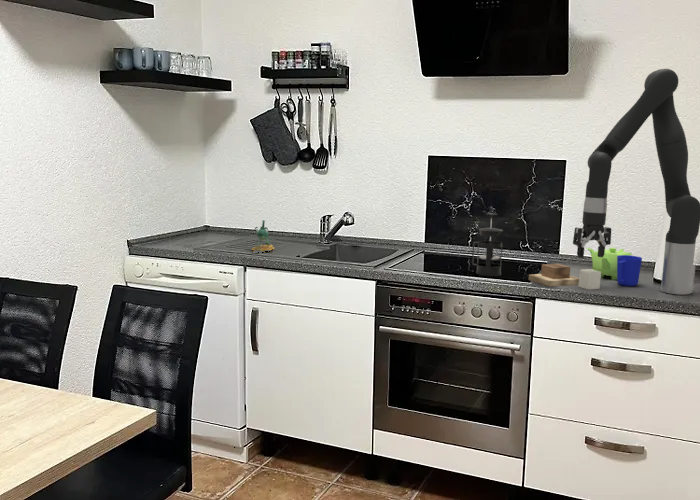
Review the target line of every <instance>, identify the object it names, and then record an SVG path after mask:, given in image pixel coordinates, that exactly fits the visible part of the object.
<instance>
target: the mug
mask: <svg viewBox="0 0 700 500" xmlns="http://www.w3.org/2000/svg"><path fill="white" fill-rule="evenodd" d="M642 261H643V258H642V257H641V256H636V255H631V256H629V255H620V256H617V280H616V281H617V283H618V284H619V285H622V286H624V287H634V286H637V285H638V283H639V278H640V275H641V268H642Z"/></svg>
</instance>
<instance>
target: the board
mask: <svg viewBox="0 0 700 500" xmlns="http://www.w3.org/2000/svg"><path fill="white" fill-rule="evenodd" d="M528 281H530V282H533V283H536V284H540V285H542V286H546V287H548V288H549V287H563V286H565V287H566V286H579V276H578V277H577V276H574V275H571V274H570V278H562V279H551V278H548V277H545V276H542V275H541V273H535V274H533V273H532V274H528Z"/></svg>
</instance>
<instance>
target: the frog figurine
mask: <svg viewBox="0 0 700 500" xmlns="http://www.w3.org/2000/svg"><path fill="white" fill-rule="evenodd" d="M261 223H262V224H261V226H260V228H259V227H258V226H256V227H254V230H255V232H256V236H257V240H256V243H257V246H254V247H252V248H251V250H261V251H265V250H272V249H273V250H275V247H274V245H273V244H271V241H270V240H271V239H269V238H270V237H269V228H268V227H265V225H266V224H265V220H262V222H261ZM262 241H264V243H265V244H264V245H263V244H262Z"/></svg>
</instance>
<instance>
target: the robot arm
mask: <svg viewBox="0 0 700 500" xmlns="http://www.w3.org/2000/svg"><path fill="white" fill-rule="evenodd" d="M643 86H644V90H643V92H642V93H641V95H640V97H638V99H637V100H636V102H635V103H634V104H633V105H632V106H631V107H630V109H629V110H628V111H626V113H625V114H624V115H623V116H622V117H621V118H620V119H619V120H618V121H617V122H616V124H615V125H614V126H613V127H612V129H611V130H610V131H609V133H608V134H607V135H606V136H605V138H604V140H603V141H602V142H601V143H600V144H598V146H597V147H596V148H595V149H594V150H593V152H592V153H591V155H589V157H588V159H587V166H588V168H589V172H588V181H587V182H586V188H585V195H584V196H585V197H584V198H585V199H584V202H583V208H582V209H583V211H582V220H581V221H582V225H583V226H582V227H577V226H576V227H575V228H574V232H573V240H572V244H573V245H574V246H577V251H576V255H577V257H578V258H580V259H584V257H585V247H586V245H587V243H589V242H590V241H596V242H597V244H598V246H597V251H598V255H597V256H598V257H603V256H604V252H605V249H606V247H607V246H608V245H611V243H612V228H611V227H608V226H605V225H606V221H607V208H608V190H609V181H610V176H611V172H612V164H613V162H612V161H614V159H615V158H616V156H617V155H618V154H619V153H620V152H622V151H623V150H624V149H625V148H626V146H627V145H628V144H629V143H630V141H631V140H632V139H633V138H634V136H635V135H636V134H637V133H638V131H639V130H640V128H642V126H643V125H644V124H645V122H646V121H647V120H648V118H649V117H650V116H651V117H652V126H653V135H654V141H655V143H654V144H655V147H656V152H657V158H658V163H659V167H660V172H661V175H662V179H663V184H664V197H665V198H664V199H665V210H666V214H667V215H668V216H669V218H670V219H669V222H670V223H669V228H668V231H667V232H666V233H665V241H664V253H663V254H664V255H663V264H662V274H661V285H660V291H661V292H663V293H666V294H671V295H672V294H673V295H691V294H692V293H693V292H694V282H695V274H696V265H695V264H694V262H695V261H694V260H695V250H696V243H697V242H696V241H697V237H698V235H699V231H700V201H699V200H698V199H697V198H696V197H694V196H692V194H691V191H690V189H689V184H688V183H689V182H688V177H687V175H688V166H689V165H688V163H689V150H688V143H687V139H686V137H687V136H686V134H685V130H684V128H683V125H682V123H681V120H680V118H679V116H678V115H677V112H676V107H675V101H674V100H675V99H674V92H676V91H677V90H678V89H677V88H678V86H679V76H678V75H677V73H676V72H675V71H674V70H672V69H670V68H660V69H657V70H654V71H652V72H650V73H649V74H648V75H647V76H646V78H645V81H644V85H643Z"/></svg>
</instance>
